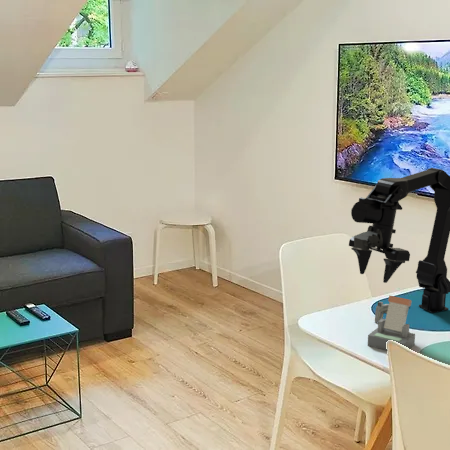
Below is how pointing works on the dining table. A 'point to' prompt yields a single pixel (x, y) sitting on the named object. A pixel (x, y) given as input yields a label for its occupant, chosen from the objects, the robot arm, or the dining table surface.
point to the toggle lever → (397, 313)
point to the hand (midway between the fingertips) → (373, 278)
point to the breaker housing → (390, 336)
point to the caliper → (380, 311)
